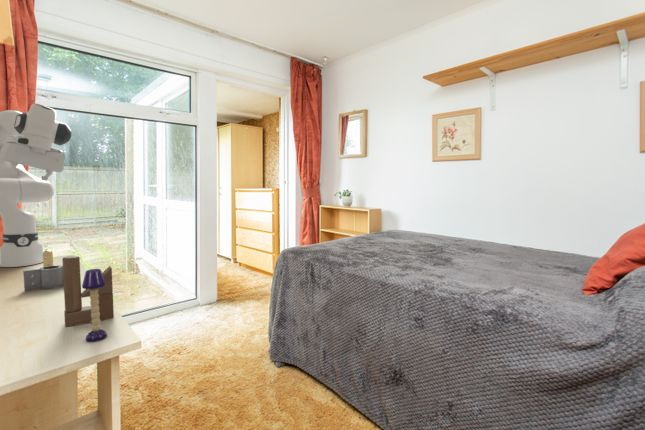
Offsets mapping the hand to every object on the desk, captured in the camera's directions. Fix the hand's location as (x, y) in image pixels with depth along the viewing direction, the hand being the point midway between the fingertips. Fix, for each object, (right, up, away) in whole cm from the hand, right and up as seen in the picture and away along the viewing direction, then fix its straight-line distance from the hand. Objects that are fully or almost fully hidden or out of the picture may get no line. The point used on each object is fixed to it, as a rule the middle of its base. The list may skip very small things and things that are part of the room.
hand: (30, 178), depth 133 cm
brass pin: (+9, -39, -2) cm, 40 cm away
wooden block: (+53, -44, -42) cm, 81 cm away
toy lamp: (+62, -45, -52) cm, 92 cm away
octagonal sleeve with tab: (+19, -40, -13) cm, 47 cm away
